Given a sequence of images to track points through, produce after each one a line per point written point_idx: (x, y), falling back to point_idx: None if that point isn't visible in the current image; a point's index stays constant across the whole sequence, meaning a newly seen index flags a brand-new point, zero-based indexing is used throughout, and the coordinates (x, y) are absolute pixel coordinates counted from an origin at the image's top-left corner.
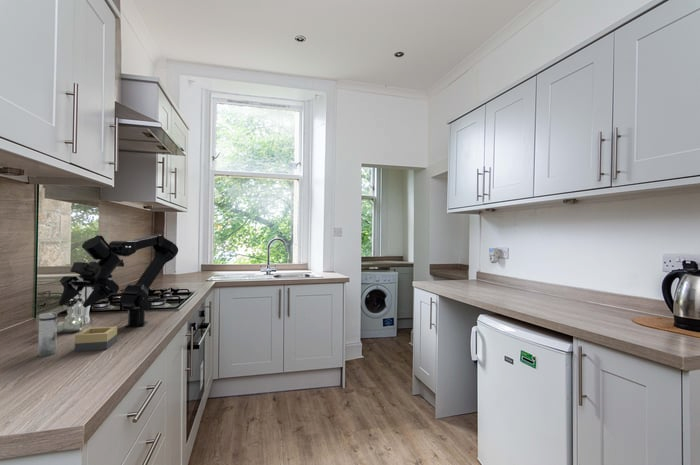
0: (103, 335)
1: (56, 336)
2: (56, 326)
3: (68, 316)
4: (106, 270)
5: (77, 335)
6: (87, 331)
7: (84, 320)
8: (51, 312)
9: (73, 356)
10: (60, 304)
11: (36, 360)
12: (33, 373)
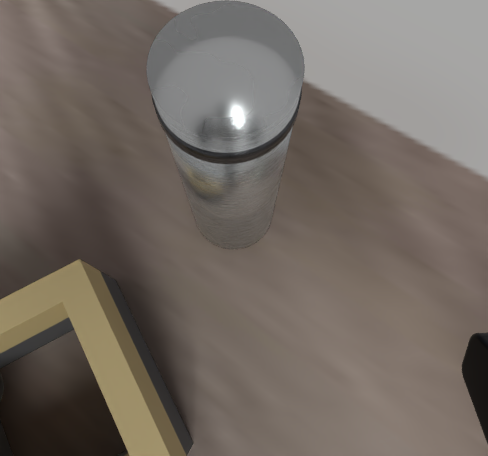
0: None
1: (196, 207)
2: (182, 172)
3: None
4: None
5: (66, 266)
6: (106, 397)
7: None
8: (268, 124)
9: (53, 219)
10: (469, 347)
11: None
12: (38, 24)
